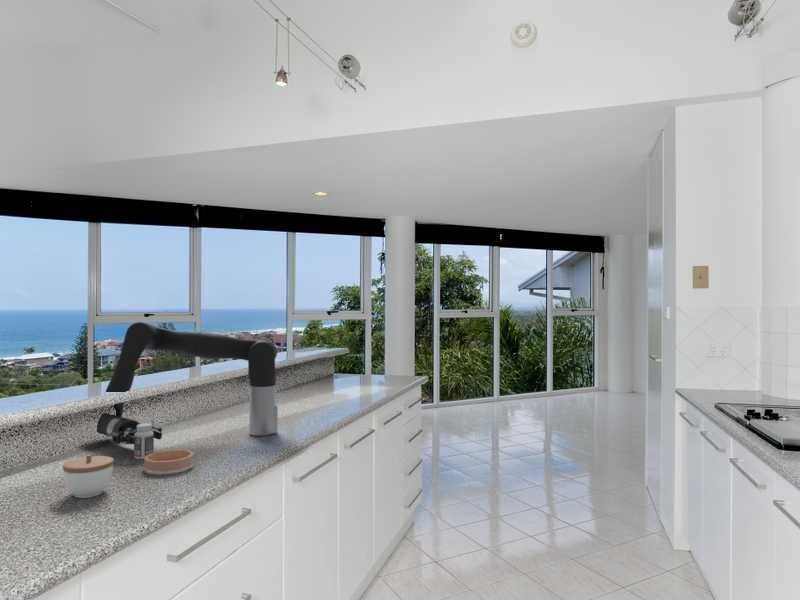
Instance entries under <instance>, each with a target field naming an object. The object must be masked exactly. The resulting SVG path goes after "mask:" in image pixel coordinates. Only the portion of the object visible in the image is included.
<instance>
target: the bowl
mask: <svg viewBox="0 0 800 600" xmlns="http://www.w3.org/2000/svg"><path fill="white" fill-rule="evenodd" d="M143 462H144V463H143V467H144V472H145V473H146V474H148V475H152V476H153V475H155V476H156V475H157V476H160V475H162V476H163V475H166V476H167V475H174V473H175V474H179V472H180V473H183V472H187V471H188V469H189V470H190V468H191V469H192V468H193V467H194V463H195V453H194V452H193V451H192V450H189V449H188V450H187V449H184V448H183V449H175V448H174V449H166V450H158V451H154V453H151V454H148V455H147V456H145V457H144V459H143Z"/></svg>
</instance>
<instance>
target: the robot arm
mask: <svg viewBox="0 0 800 600" xmlns="http://www.w3.org/2000/svg"><path fill="white" fill-rule="evenodd" d="M145 350H154V351H155V350H159V351H170V352H171V351H172V352H175V353H179V354H183V355H186V356H191V357H196V358H202V359H203V358H204V359H213V360H214V359H215V360H224V359H225V360H226V359H227V360H228V359H230V360H231V359H232V360H233V359H237V360H241V361H248V362H247V363H248V367H247V368H248V370H247V371H248V381H249V385H248V386H249V388H248V389H249V395H248V398H249V399H248V401H249V403H248V404H249V405H248V406H249V407H248V408H249V411H248V413H249V414H248V417H249V418H248V429H249V430H248V431H249V432H248V434H249V435H251V436H255V437H256V436H257V437H258V436H259V437H260V436H261V437H262V436H270V434H271V435H273V433H274V434H278V411H279V410H278V405H277V401H276V400H277V397H276V396H277V392H276V391H277V389H276V388H277V387H276V386H277V378H276V358H277V356H278V349H277V346H275V344H274V343H273V342H271V341H269V340H267V339H266V340H265V339H243V338H237V337H233V336H229V335H226V334H225V335H224V334H219V333H214V332H207V331H201V330H172V329H167V328H163V327H158V326H155V325H152V324H150V323H147V322H143V321H136V322H133V323H132V324H130V326H128V328H127V330H126V332H125V335H124V340H123V343H122V347H121V351H120V354H119V357H118V360H117V363H116V365H115V368H114V372H113V374H112V376H111V378H110V381H109V382H108V385H107V387H106V389H105V391H106V392H126V391H129V390H130V391H131V389H132V386H133V382H134V377H135V373H136V368H137V365H138V362H139V360H140V357H141V355H142V354H143V352H144V351H145ZM130 391H129V392H130ZM124 406H125V403H119V404H115V405H114V406H113V407H114V408H115V410H116V416H115V415H109V414H106V413H103V414H102V415H101V417H100V419H99V421H98V425H97V432H98V433H97V434H101V435H104V436H106V437H108V438H109V442H111V443H113V444H115V445H119V444H124V445H134V434H135V433H136V432H137V425H139V424H141V423H140V422H139V421H137V420H135V419H132V418H129V417H125V416H123V412H124ZM150 431H152V432H153V433H154V439H156V440H161V439H162V438H163V432H162V431H163V428H162V427H160V426H157V425H152V424H151V429H150Z"/></svg>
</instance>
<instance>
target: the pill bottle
mask: <svg viewBox="0 0 800 600" xmlns="http://www.w3.org/2000/svg"><path fill="white" fill-rule="evenodd" d="M151 426H152V424H151V423H147V422H146V423H140V424H139V425H137V432H136V433H135V434H134V444H133V458H134V459H135V460H136V459H137V460H144V457H145V456H147V455H148V454H151V453H154V452H155V451H154V450H155V448H154V447H155V446H154V445H155V440H154V439H155V438H154V433H153V432H152V431H150V429H151Z"/></svg>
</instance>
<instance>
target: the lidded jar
mask: <svg viewBox="0 0 800 600" xmlns="http://www.w3.org/2000/svg"><path fill="white" fill-rule="evenodd" d="M114 463H115V460H114V458H113V457H111V456H105V455H95V456H92V454H86V456H85V457H79V458H76V459H73V460H69V461H67V462H65V463H64V464H63V465H62V469H63V479H64V485H65V488H66V490H67V491H68V492H69V493H70V494H72V495H73V497H74V496H75V497H74V498H76V497H78V498H77V499H86V498H93V497H97V496H99V495H102V494H103V493H104V491H105V490H106V489H107V487H108V486H109V485H110V483H111V482H112V479H113V473H114Z"/></svg>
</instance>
